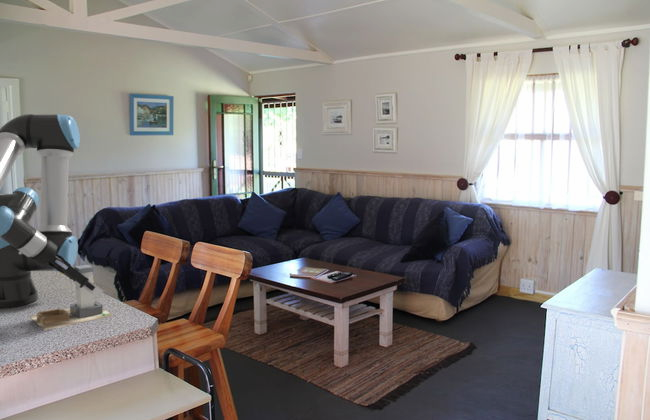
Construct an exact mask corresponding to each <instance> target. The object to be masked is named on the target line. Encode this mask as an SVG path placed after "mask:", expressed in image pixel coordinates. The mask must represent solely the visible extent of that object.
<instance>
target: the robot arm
mask: <svg viewBox="0 0 650 420" xmlns="http://www.w3.org/2000/svg"><path fill="white" fill-rule="evenodd" d="M80 144H81V135H80V131H79V127H78V124H77V122H76V120H75V118H73V116H71V115H68V114H67V115H65V114H59V113H57V114H32V113H31V114H29V113H27V114H22V115H19V116H16V117H14V118H12V119H10V120H9V121H7V122H6V123H4V125H2V127H0V191H1V190H2V188H3V186H4V184H5V182H6V179H7V178H8V175H9V174H10V172H11V169H12V168H13V166H14V163H15V161H16V160H17V158H18V156H20V155H22V154H23V152H24V151H25V150H26V149H36V153H37V154H38V155H39V156H40V157H41V163H40V165H41V166H40V167H41V168H40V169H41V170H40V172H41V173H40V196H39V194H38V193H37V192H36V191H35V190H34V189H32V188H31V187H30V188H29V187H26V186H21V187H18V188H15V190H14V191H12V193H0V308H13V307H20V306H25V305H29V304H32V303H34V302H36V301H37V300H39V293H38V290H37V287H36V285H35V283H34V281H33V279H32V272H59V273H61V274H64V275H65V276H66V277H68V278H69V280H71V281H73V282H74V283H76V282H78V283H79V284H80V288H82V287H83V288H85V289H86V290H87V291H89V292H90V293H91V294H93V295H94V297H96V298H97V299H98V298H99V297H100V296H101V295H102V294H103V292H104V290H103V289H101V287H99V286H98V285H96V283H94V282H93V283H92V282H91V281H90V280H89V279H88V278H86V277H85V276H83V275H82V274H81V273H80V272H78V271H77V270H76V269H74V267H73V266H74V264H75V263H76V259H77V256H78V252H79V251H78V250H79V244H78V239H77V238H78V237H76V236H74V235H73V231H72V229H70V228H69V227H68V215H69V214H68V211H69V209H68V208H69V207H68V205H69V171H70V170H69V169H70V167H69V165H70V162H69V161H70V159H71V157H73V156H74V153H75V150H77V149H79V148H80ZM39 202H40V206H39V207H40V209H39V212H40V213H39V227H38V228H35V227H33V225H31V224H30V222H31V219H32V218H33V215H34V214H35V212H36V210H37V207H38V204H39Z"/></svg>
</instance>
